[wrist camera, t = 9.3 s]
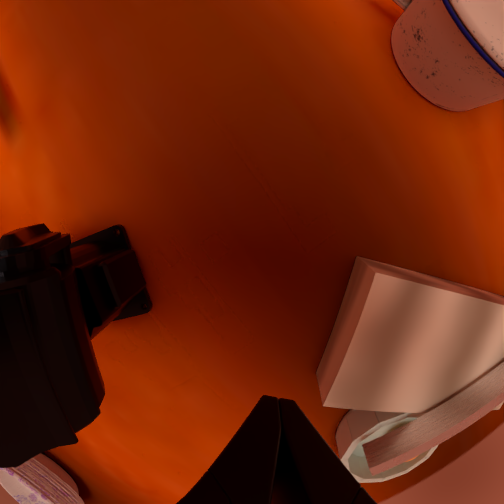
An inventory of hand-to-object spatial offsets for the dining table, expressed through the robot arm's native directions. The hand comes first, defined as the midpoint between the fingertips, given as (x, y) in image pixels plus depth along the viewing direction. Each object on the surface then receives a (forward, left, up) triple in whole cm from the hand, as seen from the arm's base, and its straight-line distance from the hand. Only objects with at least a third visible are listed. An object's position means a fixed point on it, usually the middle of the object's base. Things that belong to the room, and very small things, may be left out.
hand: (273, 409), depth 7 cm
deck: (+11, -9, -13) cm, 19 cm away
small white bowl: (+6, -17, -13) cm, 22 cm away
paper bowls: (-40, -22, -13) cm, 48 cm away
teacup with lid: (+16, +13, -13) cm, 24 cm away
